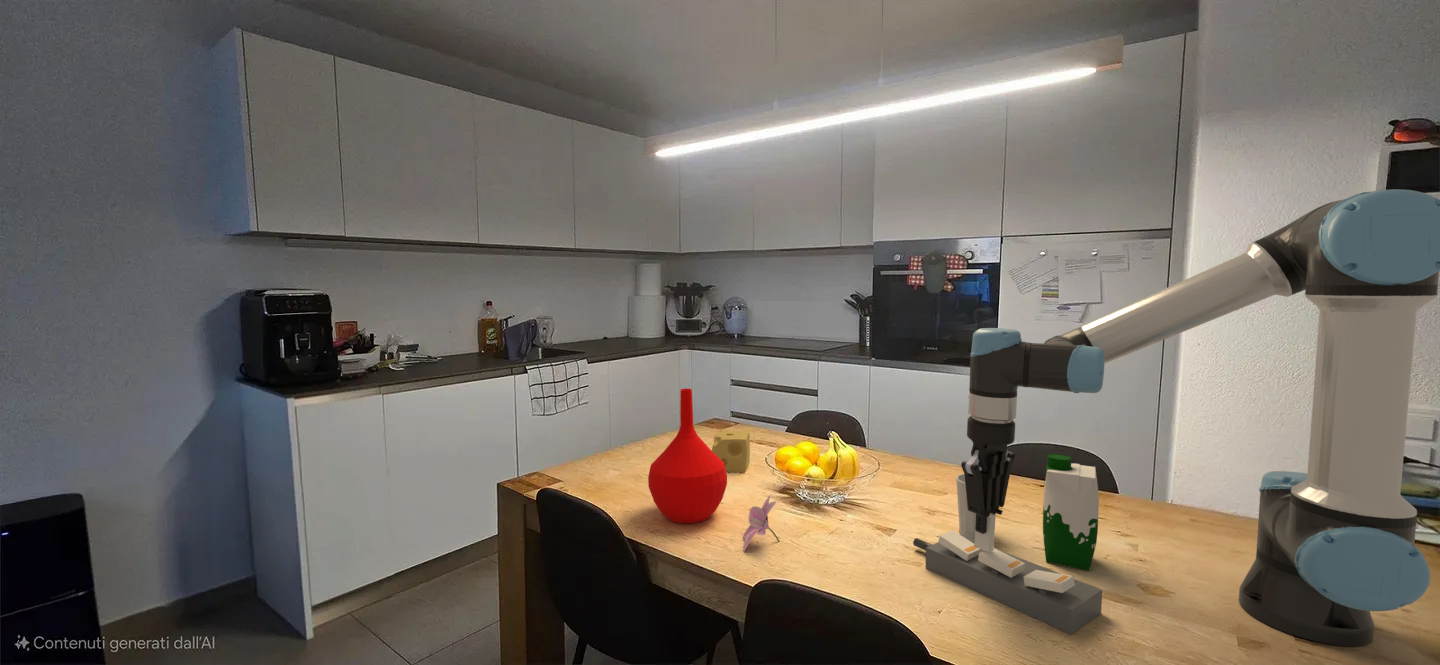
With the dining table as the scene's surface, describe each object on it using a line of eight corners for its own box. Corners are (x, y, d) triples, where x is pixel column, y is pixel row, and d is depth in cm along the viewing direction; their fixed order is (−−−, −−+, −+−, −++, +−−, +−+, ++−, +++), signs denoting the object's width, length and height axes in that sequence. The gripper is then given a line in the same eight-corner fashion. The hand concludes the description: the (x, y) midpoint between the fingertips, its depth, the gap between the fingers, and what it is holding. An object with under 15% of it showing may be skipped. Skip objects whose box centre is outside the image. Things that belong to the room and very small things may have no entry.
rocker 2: (1023, 570, 100) (1025, 562, 100) (1011, 577, 98) (1012, 569, 98) (990, 554, 105) (991, 546, 105) (978, 560, 103) (979, 552, 103)
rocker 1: (979, 554, 107) (981, 547, 107) (966, 561, 105) (968, 554, 104) (951, 536, 112) (952, 529, 111) (938, 542, 110) (939, 535, 109)
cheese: (711, 472, 168) (710, 438, 167) (717, 461, 179) (717, 428, 178) (747, 474, 167) (746, 439, 166) (751, 462, 177) (751, 429, 176)
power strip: (1101, 613, 95) (1102, 586, 95) (1071, 634, 90) (1072, 606, 89) (931, 542, 122) (931, 521, 121) (899, 555, 116) (899, 533, 116)
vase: (681, 539, 125) (678, 401, 122) (633, 514, 138) (630, 389, 136) (744, 516, 137) (742, 389, 134) (694, 495, 150) (692, 380, 148)
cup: (1000, 543, 121) (1001, 486, 120) (958, 540, 122) (960, 484, 121) (990, 527, 128) (992, 474, 127) (951, 525, 130) (953, 472, 129)
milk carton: (1043, 545, 120) (1046, 449, 118) (1095, 555, 115) (1100, 455, 113) (1040, 563, 112) (1043, 460, 111) (1096, 575, 108) (1101, 468, 106)
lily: (755, 530, 131) (735, 497, 129) (802, 518, 126) (781, 483, 124) (742, 570, 121) (719, 535, 118) (793, 559, 116) (770, 521, 113)
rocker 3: (1075, 585, 94) (1073, 575, 94) (1062, 592, 91) (1060, 583, 91) (1037, 578, 99) (1035, 569, 99) (1024, 585, 96) (1023, 576, 96)
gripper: (992, 408, 108) (985, 531, 111) (949, 418, 101) (942, 549, 103) (1032, 417, 102) (1024, 547, 105) (990, 428, 95) (982, 567, 97)
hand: (983, 548), depth 104 cm, fingers closed
